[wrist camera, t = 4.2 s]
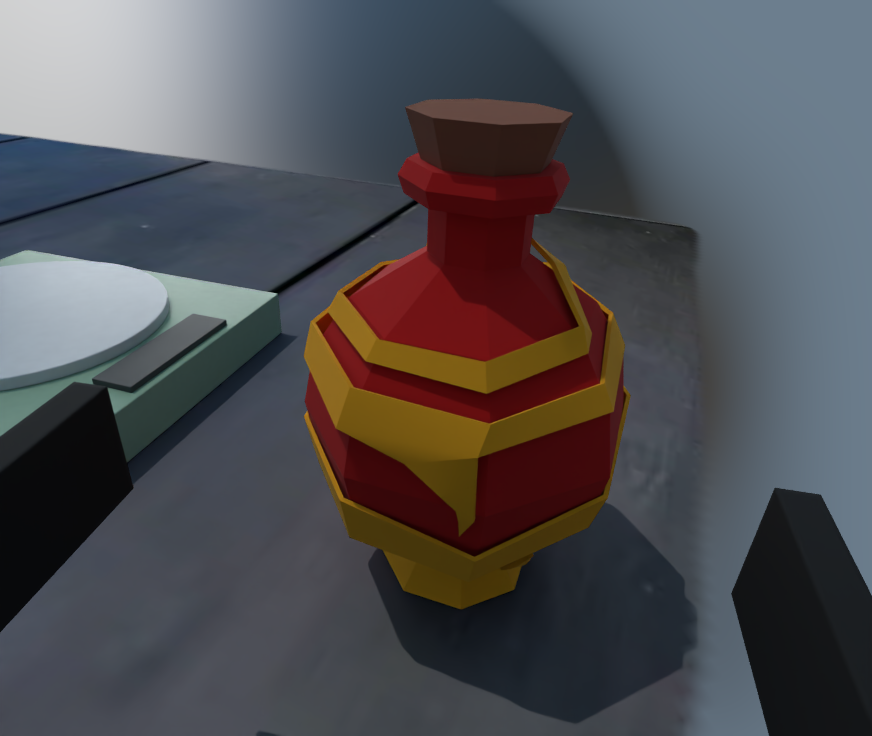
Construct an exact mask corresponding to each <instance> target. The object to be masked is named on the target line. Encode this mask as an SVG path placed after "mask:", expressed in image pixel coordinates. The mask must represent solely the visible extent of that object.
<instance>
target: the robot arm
mask: <svg viewBox="0 0 872 736" xmlns="http://www.w3.org/2000/svg"><path fill="white" fill-rule="evenodd" d="M132 489H133V484H132V481H131V477H130V473H129V469H128V465H127V461H126V457H125V454H124V450H123V446H122V442H121V438H120V434H119V430H118V426H117V423H116V419H115V415H114V411H113V407H112V403H111V399H110V395H109V392H108V388H107V386H100V385H94V384H87V383H80V382H73V383H71V384H70V385H69V386H67V387H66V388H65V389H63V390H62V391H61V392H59V393H58V394H57V395H55V396H54V397H53V398H51V399H50V400H48V401H47V402H46V403H44V404H43V405H42V406H40V407H39V408H38V409H36V410H35V411H34V412H32V413H31V414H30V415H28V416H27V417H26V418H24V419H23V420H21V421H20V422H19V423H17V424H16V425H15V426H13V427H12V428H11V429H9V430H8V431H7V432H5V433H4V434H3V435H1V436H0V632H1V631H2V630H3V629H4V628H5V626H6V625H7V624H8V623H9V622H10V621H11V620H12V619H13V618H14V617H15V616H16V615H17V614H18V612H19V611H20V610H21V609H22V608H23V607H24V606H25V605H26V604H27V603H28V602H29V601H30V599H31V598H32V597H33V596H34V595H35V594H36V593H37V592H38V591H39V590H40V589H41V588H42V587H43V585H44V584H45V583H46V582H47V581H48V580H49V579H50V578H51V577H52V576H53V575H54V574H55V572H56V571H57V570H58V569H59V568H60V567H61V566H62V565H63V564H64V563H65V562H66V561H67V560H68V558H69V557H70V556H71V555H72V554H73V553H74V552H75V551H76V550H77V549H78V548H79V547H80V545H81V544H82V543H83V542H84V541H85V540H86V539H87V538H88V537H89V536H90V535H91V534H92V533H93V531H94V530H95V529H96V528H97V527H98V526H99V525H100V524H101V523H102V522H103V521H104V520H105V518H106V517H107V516H108V515H109V514H110V513H111V512H112V511H113V510H114V509H115V508H116V507H117V506H118V504H119V503H120V502H121V501H122V500H123V499H124V498H125V497H126V496H127V495H128V494H129V493H130V491H131V490H132ZM731 594H732V598H733V601H734V605H735V609H736V613H737V616H738V620H739V624H740V628H741V631H742V635H743V639H744V643H745V646H746V650H747V654H748V658H749V662H750V665H751V669H752V672H753V677H754V680H755V684H756V688H757V692H758V695H759V699H760V703H761V707H762V710H763V714H764V718H765V722H766V725H767V729H768V733H769V736H872V595H871V594H870V592H869V589H868V587H867V585H866V583H865V581H864V579H863V577H862V575H861V574H860V571H859V569H858V567H857V566H856V564H855V562H854V560H853V558H852V556H851V554H850V552H849V550H848V548H847V546H846V544H845V542H844V540H843V538H842V536H841V534H840V532H839V530H838V528H837V526H836V524H835V522H834V520H833V518H832V516H831V514H830V512H829V510H828V508H827V506H826V504H825V502H824V500H823V498H822V496H821V495H819V494H812V493H806V492H799V491H793V490H786V489H779V488H775V489H774V491H773V493H772V496H771V498H770V501H769V503H768V506H767V509H766V511H765V513H764V516H763V518H762V520H761V523H760V525H759V528H758V530H757V533H756V535H755V537H754V540H753V542H752V545H751V547H750V549H749V552H748V555H747V557H746V559H745V562H744V564H743V567H742V569H741V571H740V574H739V576H738V579H737V581H736V584H735V586H734V588H733V591H732V593H731Z"/></svg>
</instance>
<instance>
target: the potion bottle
mask: <svg viewBox="0 0 872 736" xmlns="http://www.w3.org/2000/svg"><path fill="white" fill-rule="evenodd" d="M405 108H406V112H407V115H408V119H409V122H410V125H411V128H412V132H413V135H414V139H415V142H416V145H417V148H418V153H416V154H414V155H412V156H410V157H409V158H407V159H406V161H405V162H404V164H403V166H402V167H401V169H400V171H399V172H398V177H399V180H400V183H401V186H402V189H403V192H404V193H405V194H406V195H408V196H409V197H411V198H412V199H414V200H415V201H417V202H419V203H420V204H422V205H423V206H425V207H426V208H428V235H427V246H426V247H424V248H422V249H420V250H418V251H416V252H414V253H412V254H410V255H408V256H406V257H404V258H402V259H398V260H392V261H385V262H380V263H379V264H377V265H376V266H374V267H373V268H371V269H370V270H368V271H367V272H366V273H364V274H363V275H361V276H360V277H358V278H357V279H355V280H354V281H352V282H351V283H349V284H348V285H346V286H345V287H343V288H342V289H340V290H339V291H338V293H337V295H336V296H335V298H334V300H333V302H332V303H331V305H330V306H329V307H328V308H327V309H326V310H324V311H323V312H322V313H321V314H319V315H318V316H317V317H316V318H314V319H313V320H312V321H311V324H310V329H309V333H308V338H307V343H306V348H305V352H304V358H305V360H306V363H307V365H308V367H309V369H310V373H309V379H308V385H307V392H306V398H305V404H306V407H307V410H308V411H307V412H306V414H305V415H304V418H305V421H306V424H307V427H308V430H309V433H310V436H311V440H312V443H313V446H314V449H315V452H316V455H317V458H318V461H319V464H320V466H321V468H322V471H323V473H324V476H325V478H326V481H327V483H328V486H329V488H330V491H331V493H332V495H333V498H334V500H335V503H336V505H337V508H338V510H339V513H340V515H341V518H342V520H343V523H344V525H345V527H346V530H347V532H348V535H349V537H350V538H352V539H355V540H358V541H360V542H363V543H366V544H368V545H371V546H374V547H376V548H379V549H382V550H383V552H384V554H385V556H386V558H387V560H388V562H389V563H390V565H391V567H392V569H393V571H394V573H395V575H396V577H397V579H398V581H399V583H400V585H401V587H402V589H403V591H406V592H409V593H412V594H415V595H418V596H421V597H424V598H427V599H431V600H434V601H437V602H440V603H443V604H446V605H449V606H452V607H455V608H458V609H464V608H466V607H469V606H472V605H474V604H477V603H480V602H482V601H485V600H488V599H490V598H493V597H496V596H499V595H501V594H504V593H507V592H509V591H512V590H514V589H515V586H516V582H517V579H518V576H519V573H520V570H521V567H522V565H526V564H527V563H528V562H529V561H530V560H531V559H530V558H531V557H533V556H534V555H533V553H534V552H536V551H538V550H540V549H542V548H545V547H547V546H549V545H551V544H553V543H556V542H558V541H560V540H562V539H564V538H567V537H569V536H571V535H573V534H575V533H578V532H580V531H582V530H584V529H586V528H588V527H589V526H590V524H591V523H592V521H593V520H594V518H595V517H596V515H597V514H598V512H599V511H600V509H601V507H602V506H603V504H604V503H605V501H606V500H607V498H608V495H609V490H610V486H611V481H612V477H613V472H614V468H615V463H616V459H617V454H618V450H619V445H620V441H621V436H622V432H623V427H624V423H625V418H626V414H627V409H628V405H629V400H630V396H631V395H630V394H629V392H628V391H627V390H626V388H625V387H624V386H623V355H624V349H625V344H624V341H623V338H622V336H621V333H620V330H619V327H618V325H617V322H616V319H615V317H614V314H613V312H611V311H610V310H609V309H608V308H606V307H605V306H604V305H602V304H601V303H600V302H599V301H597V300H596V299H595V298H593V297H592V296H591V295H590V294H588V293H587V292H586V291H584V290H583V289H582V288H581V287H579V286H578V285H577V284H575V283H574V282H573V281H572V280H571V279H570V276H569V274H568V271H567V269H566V266H565V264H563V263H562V262H561V261H560V260H558V259H557V258H556V257H555V256H553V255H552V254H551V253H550V252H549V251H547V250H546V249H545V248H544V247H542V246H541V245H540V244H539V243H537V242H536V241H535V240H534V239H533V238H532V231H533V223H534V215H535V214H545V213H550V212H551V211H552V209H553V208H554V207H555V205H556V204H557V202H558V201H559V200H560V198H561V197H562V195H563V193H564V191H565V189H566V187H567V185H568V183H569V181H570V178H569V176H568V173H567V171H566V168H565V166H564V164H563V163H561V162H559V161H556V160H553V159H552V158H553V156H554V154H555V152H556V150H557V147H558V145H559V143H560V141H561V139H562V136H563V134H564V132H565V130H566V128H567V126H568V124H569V121H570V119H571V117H572V115H573V113H570V112H566V111H562V110H559V109H554V108H551V107H547V106H543V105H539V104H532V103H521V102H511V101H500V100H489V99H448V100H447V99H443V100H426V101H423V102H420V103H416V104H413V105H410V106H407V107H405ZM531 244H532V245H533V246H534V247H535V248H536V250H537V251H538V252H539V253H540V254H541V255H542V256H543V257H544V258H545V259H546V260H547V262H541V261H540V260H538V259H537V258H536V257H534V256H533V255H531V254H530V247H531Z"/></svg>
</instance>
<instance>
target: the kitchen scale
mask: <svg viewBox="0 0 872 736" xmlns="http://www.w3.org/2000/svg"><path fill="white" fill-rule="evenodd" d="M281 332H282V331H281V320H280V309H279V299H278V294H276V293H270V292H264V291H258V290H253V289H247V288H241V287H236V286H230V285H224V284H218V283H213V282H207V281H201V280H195V279H190V278H184V277H178V276H173V275H167V274H161V273H155V272H150V271H144V270H138V269H134V268H131V267H127V266H122V265H118V264H111V263H103V262H92V261H87V260H81V259H75V258H69V257H64V256H58V255H52V254H47V253H41V252H35V251H29V250H25V251H23V252H20V253H17V254H15V255H12V256H9V257H7V258H4V259H1V260H0V436H1V435H3V434H4V433H5V432H7V431H8V430H9V429H11V428H12V427H13V426H15V425H16V424H17V423H19V422H20V421H21V420H23V419H24V418H26V417H27V416H28V415H30V414H31V413H32V412H34V411H35V410H36V409H38V408H39V407H40V406H42V405H43V404H44V403H46V402H47V401H48V400H50V399H51V398H53V397H54V396H55V395H57V394H58V393H59V392H61V391H62V390H63V389H65V388H66V387H67V386H69V385H70V384H71V383H73V382H80V383H87V384H94V385H100V386H107V388H108V392H109V395H110V399H111V403H112V407H113V411H114V415H115V419H116V423H117V426H118V430H119V434H120V438H121V442H122V446H123V450H124V454H125V457H126V461H127V462H128V461H130V460H131V459H132V458H133V457H134V456H136V455H137V454H138V453H139V452H140V451H141V450H143V449H144V448H145V447H146V446H147V445H149V444H150V443H151V442H152V441H153V440H155V439H156V438H157V437H158V436H159V435H160V434H162V433H163V432H164V431H165V430H166V429H168V428H169V427H170V426H171V425H172V424H173V423H175V422H176V421H177V420H178V419H179V418H181V417H182V416H183V415H184V414H185V413H187V412H188V411H189V410H190V409H191V408H192V407H194V406H195V405H196V404H197V403H198V402H200V401H201V400H202V399H203V398H204V397H205V396H207V395H208V394H209V393H210V392H211V391H213V390H214V389H215V388H216V387H217V386H219V385H220V384H221V383H222V382H223V381H224V380H226V379H227V378H228V377H229V376H230V375H232V374H233V373H234V372H235V371H236V370H238V369H239V368H240V367H241V366H242V365H243V364H245V363H246V362H247V361H248V360H249V359H251V358H252V357H253V356H254V355H255V354H256V353H258V352H259V351H260V350H261V349H262V348H264V347H265V346H266V345H267V344H268V343H270V342H271V341H272V340H273V339H274V338H275V337H277V336H278V335H279V334H280V333H281Z"/></svg>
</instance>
